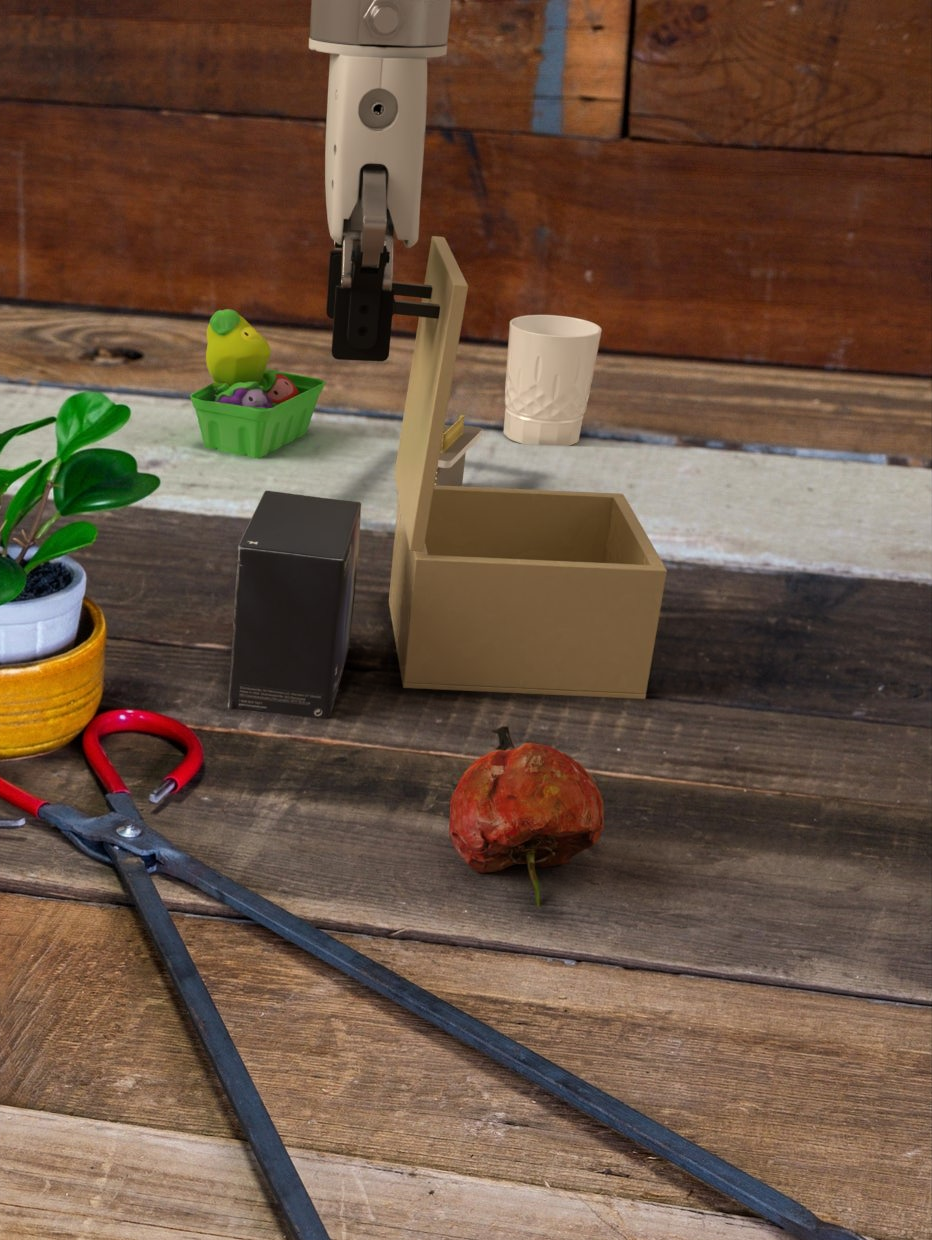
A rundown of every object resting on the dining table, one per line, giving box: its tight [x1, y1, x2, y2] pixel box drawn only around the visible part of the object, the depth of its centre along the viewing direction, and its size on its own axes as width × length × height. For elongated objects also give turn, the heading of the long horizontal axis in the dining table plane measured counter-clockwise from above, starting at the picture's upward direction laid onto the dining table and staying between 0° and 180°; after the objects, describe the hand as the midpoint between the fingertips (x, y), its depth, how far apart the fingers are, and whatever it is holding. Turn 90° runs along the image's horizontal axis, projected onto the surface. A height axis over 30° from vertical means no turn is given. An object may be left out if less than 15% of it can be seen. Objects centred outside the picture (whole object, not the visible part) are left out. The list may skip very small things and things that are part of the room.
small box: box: [226, 490, 362, 720], centre depth 100 cm, size 11×6×10 cm, turn 170°
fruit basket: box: [189, 308, 326, 459], centre depth 143 cm, size 11×9×11 cm
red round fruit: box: [448, 725, 605, 908], centre depth 82 cm, size 7×7×10 cm
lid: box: [392, 235, 469, 552], centre depth 100 cm, size 15×14×5 cm
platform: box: [435, 414, 483, 486], centre depth 132 cm, size 12×18×7 cm, turn 157°
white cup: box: [503, 314, 603, 447], centre depth 148 cm, size 8×8×10 cm
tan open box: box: [388, 484, 668, 700], centre depth 106 cm, size 15×14×9 cm
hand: (355, 337), depth 99 cm, fingers open, 9 cm apart
